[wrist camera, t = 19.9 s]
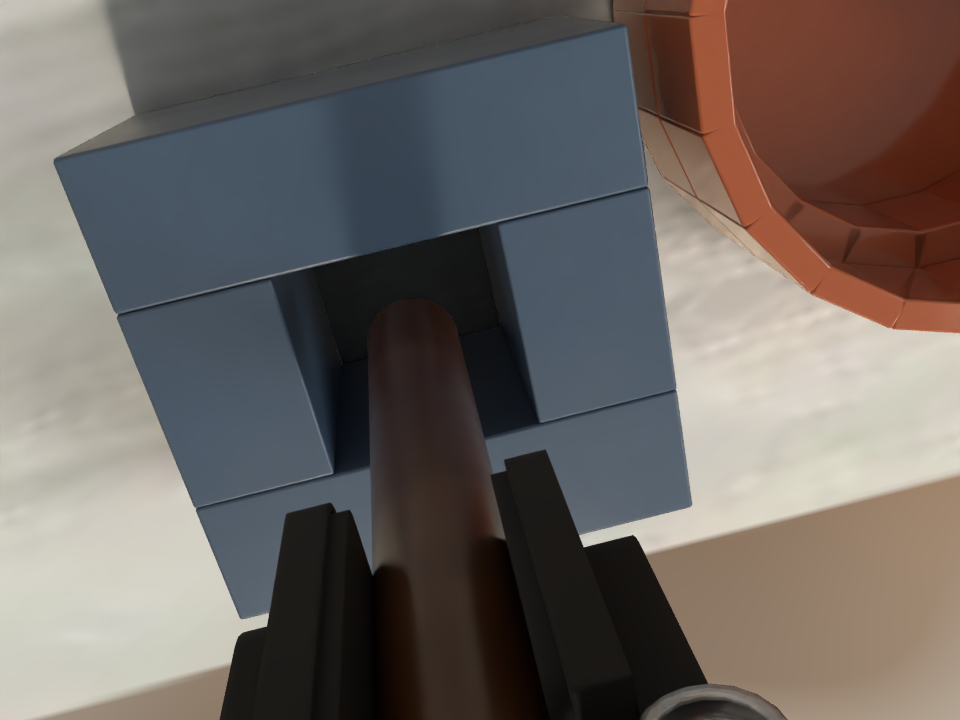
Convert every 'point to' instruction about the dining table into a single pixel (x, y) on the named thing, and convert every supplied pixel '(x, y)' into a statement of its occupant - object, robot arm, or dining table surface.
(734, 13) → the bowl
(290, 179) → the holder
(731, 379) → the dining table surface
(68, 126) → the dining table surface
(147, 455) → the dining table surface
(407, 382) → the stick
